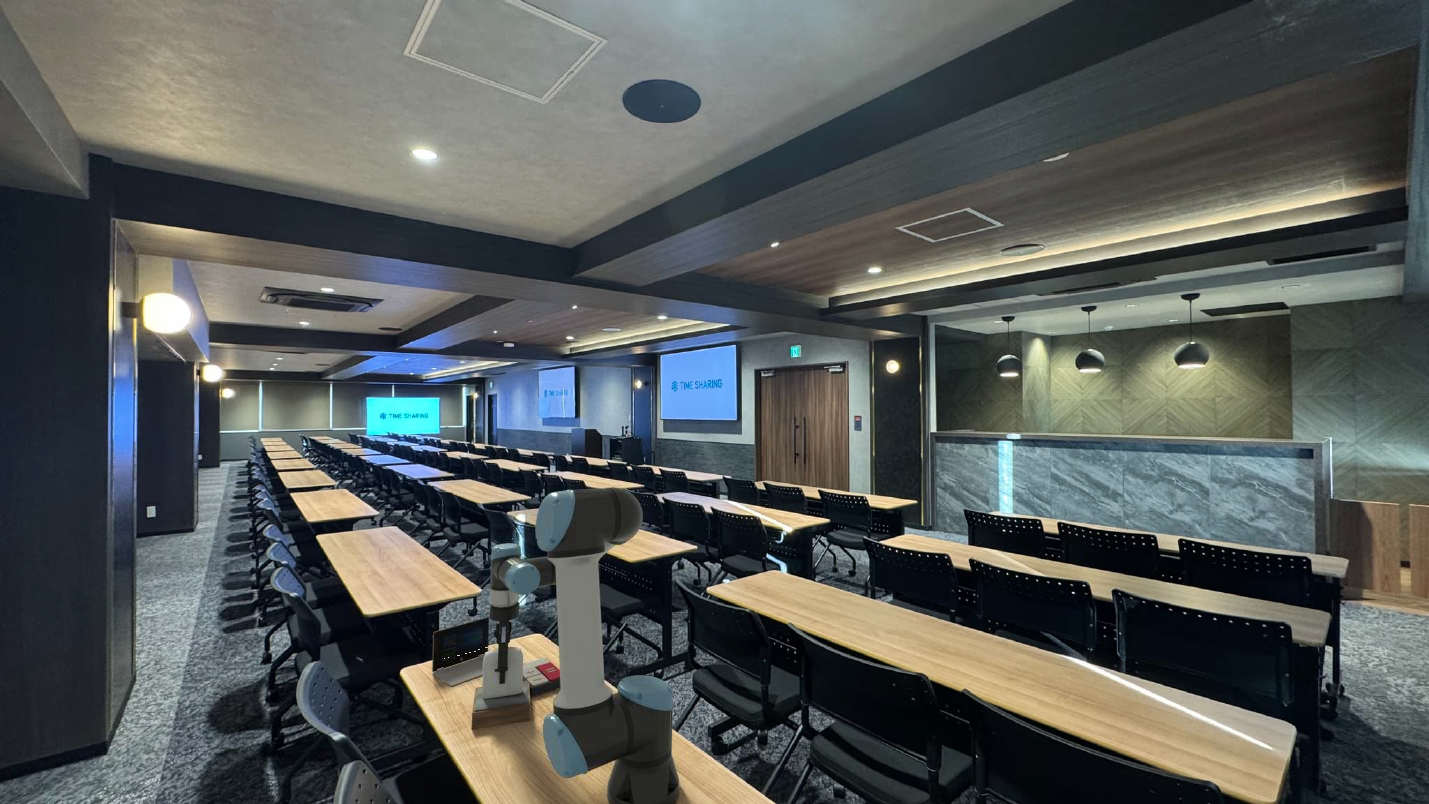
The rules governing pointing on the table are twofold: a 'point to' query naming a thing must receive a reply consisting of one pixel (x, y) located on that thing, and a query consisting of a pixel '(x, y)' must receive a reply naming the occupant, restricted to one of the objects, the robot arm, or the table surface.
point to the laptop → (460, 651)
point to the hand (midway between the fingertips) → (501, 689)
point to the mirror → (501, 708)
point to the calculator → (541, 676)
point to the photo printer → (513, 673)
